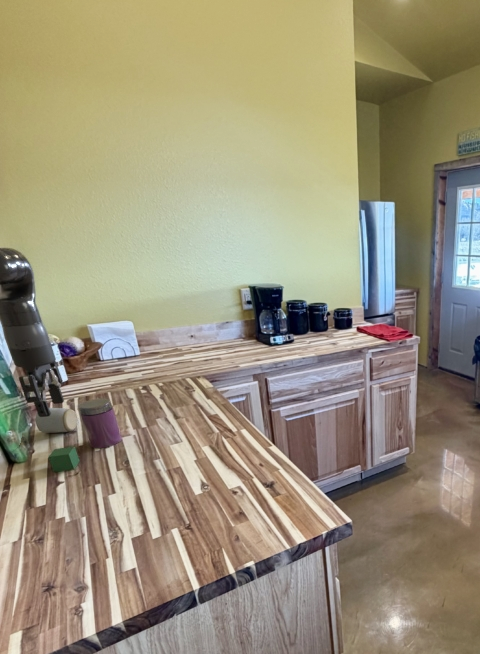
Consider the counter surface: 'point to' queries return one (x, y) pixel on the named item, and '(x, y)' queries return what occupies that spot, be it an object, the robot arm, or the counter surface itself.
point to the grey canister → (57, 421)
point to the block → (64, 459)
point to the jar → (102, 429)
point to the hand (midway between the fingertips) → (52, 409)
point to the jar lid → (95, 406)
